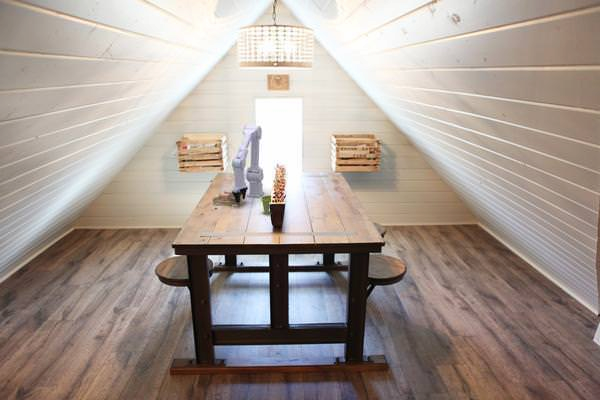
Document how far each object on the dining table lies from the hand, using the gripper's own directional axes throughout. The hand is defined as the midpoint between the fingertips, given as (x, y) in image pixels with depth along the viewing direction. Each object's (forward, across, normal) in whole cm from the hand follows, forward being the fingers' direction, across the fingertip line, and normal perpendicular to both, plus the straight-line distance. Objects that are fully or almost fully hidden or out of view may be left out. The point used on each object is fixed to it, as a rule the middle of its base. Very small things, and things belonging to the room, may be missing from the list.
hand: (240, 201), depth 266 cm
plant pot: (+2, -10, -22) cm, 24 cm away
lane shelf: (+2, +4, +10) cm, 10 cm away
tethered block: (+2, 0, +5) cm, 6 cm away
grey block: (+2, +8, +10) cm, 12 cm away
